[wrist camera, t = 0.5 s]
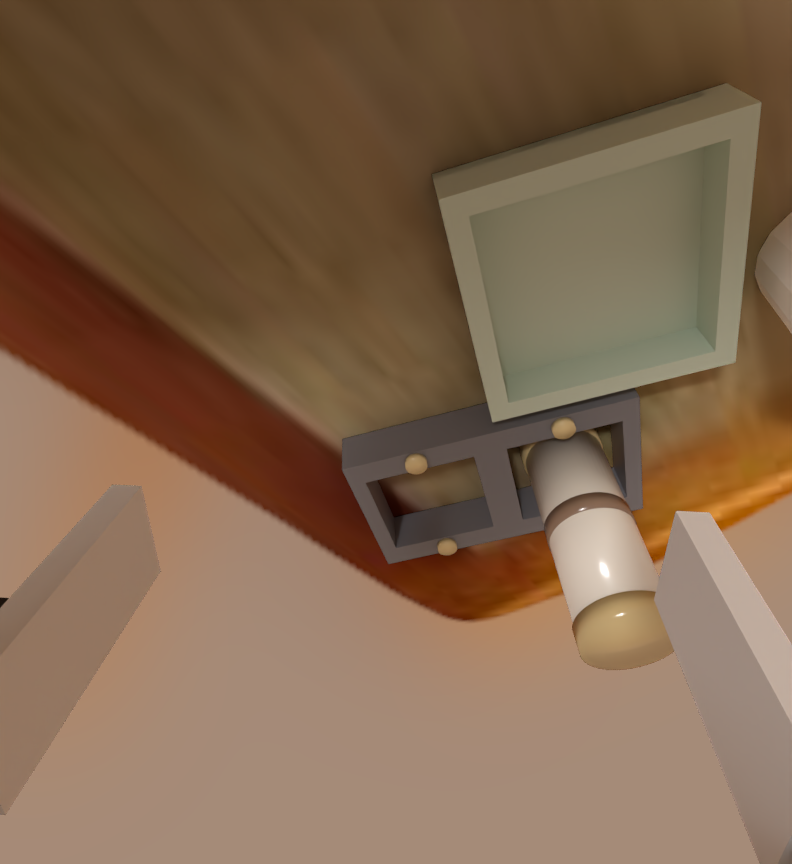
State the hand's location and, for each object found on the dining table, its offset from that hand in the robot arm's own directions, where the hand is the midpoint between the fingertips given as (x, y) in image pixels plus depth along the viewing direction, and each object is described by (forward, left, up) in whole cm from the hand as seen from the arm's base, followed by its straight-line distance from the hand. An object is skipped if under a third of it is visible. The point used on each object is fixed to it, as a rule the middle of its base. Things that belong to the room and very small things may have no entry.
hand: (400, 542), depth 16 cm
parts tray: (+4, +9, -17) cm, 20 cm away
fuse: (+15, +7, -17) cm, 24 cm away
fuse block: (+15, +3, -17) cm, 23 cm away
